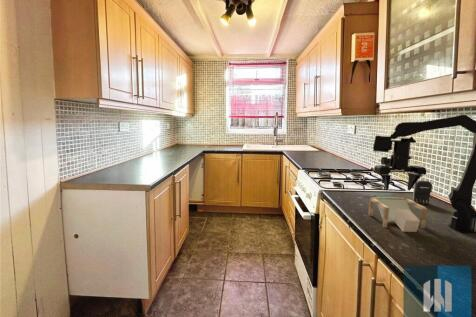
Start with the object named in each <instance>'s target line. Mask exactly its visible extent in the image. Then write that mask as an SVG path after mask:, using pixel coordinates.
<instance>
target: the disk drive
mask: <svg viewBox="0 0 476 317" xmlns="http://www.w3.org/2000/svg"><path fill="white" fill-rule="evenodd" d="M372 197H394V198H398V197H397V196H395V195H389V194H373V196H372Z"/></svg>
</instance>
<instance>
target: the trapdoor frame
mask: <svg viewBox="0 0 476 317" xmlns="http://www.w3.org/2000/svg"><path fill="white" fill-rule="evenodd" d="M377 199H405V200H406V201H407V203H408V205H411V206H413V207H415V208H417V210H421V213H420V219H419V220H420V223H419V228H420V229H425V228H426V222H427V212H428V208H427V207H426V206H424V205H423V204H418V203H416V202H414V201H413V199H410V198H408V197H397V198H394V197H373V196H370V197H369V201H368V202H369V203H368V213H367V215H368V216H369V217H373V212H374V205H377V207H378V206H380V207H381V208H383V209H384V215H383V219H382V227H383V228H388V224H389V222H388V214H389V207H388V206H386V205H384V204H383V203H381V202H380V201H378V200H377Z"/></svg>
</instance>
